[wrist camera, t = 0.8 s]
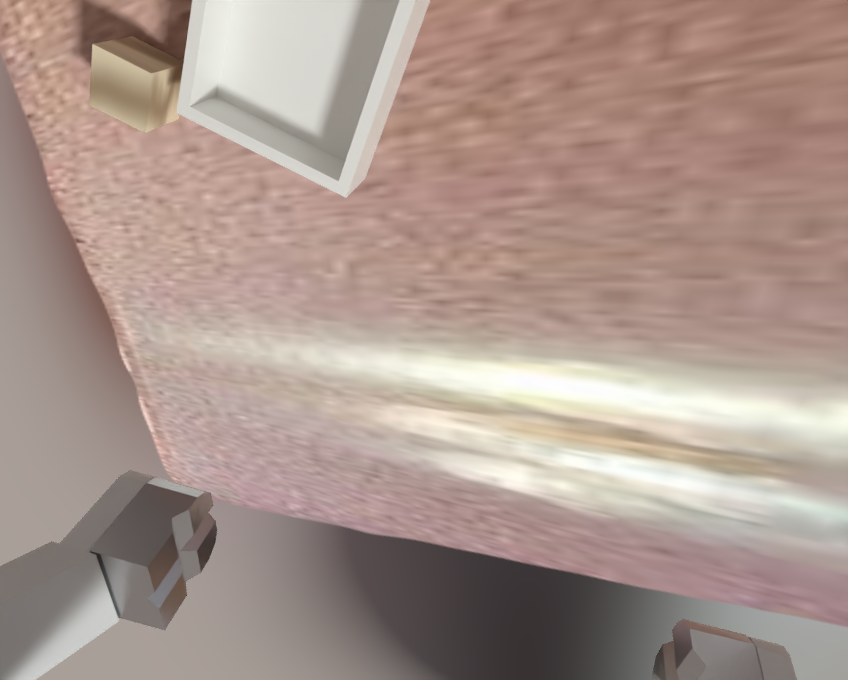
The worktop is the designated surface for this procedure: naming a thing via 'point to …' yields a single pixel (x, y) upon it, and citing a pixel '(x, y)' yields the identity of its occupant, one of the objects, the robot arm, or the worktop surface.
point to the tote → (299, 78)
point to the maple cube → (135, 83)
